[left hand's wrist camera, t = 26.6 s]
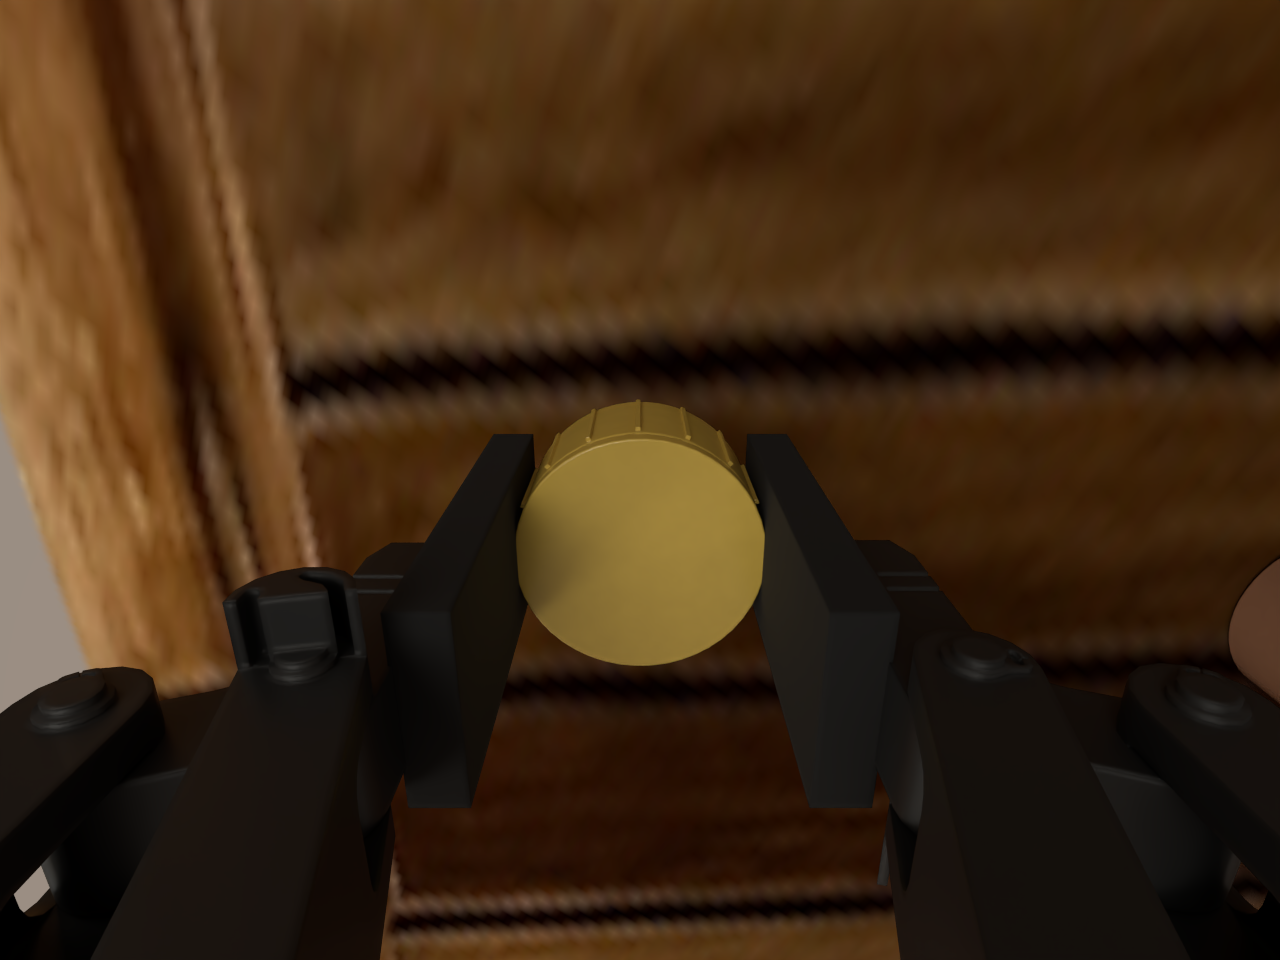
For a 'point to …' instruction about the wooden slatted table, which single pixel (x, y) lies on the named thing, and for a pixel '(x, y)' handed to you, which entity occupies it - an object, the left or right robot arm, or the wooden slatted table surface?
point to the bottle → (1259, 631)
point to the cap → (640, 536)
